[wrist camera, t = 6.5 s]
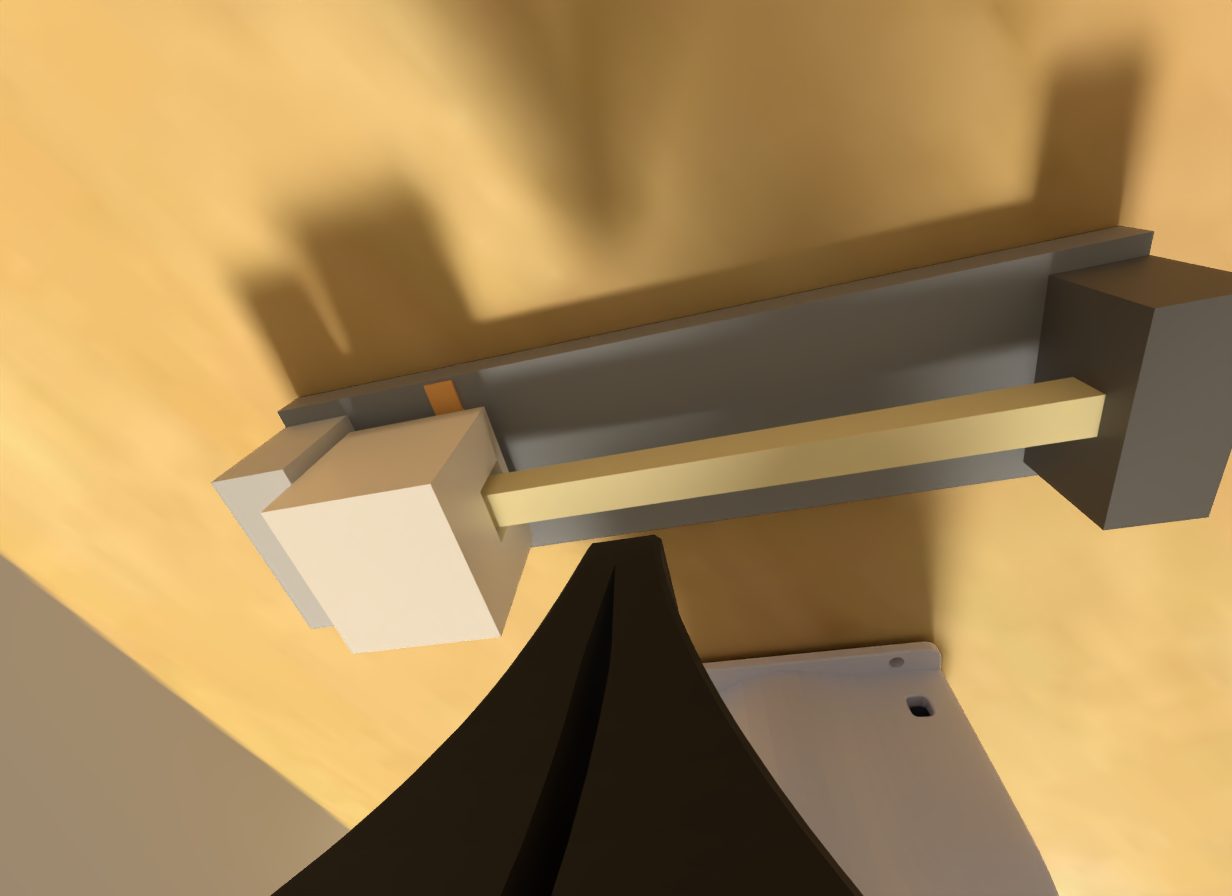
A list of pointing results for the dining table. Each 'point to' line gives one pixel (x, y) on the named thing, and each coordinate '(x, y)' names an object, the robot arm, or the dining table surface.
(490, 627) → the beige sliding bead
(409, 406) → the cord board
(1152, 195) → the dining table surface
